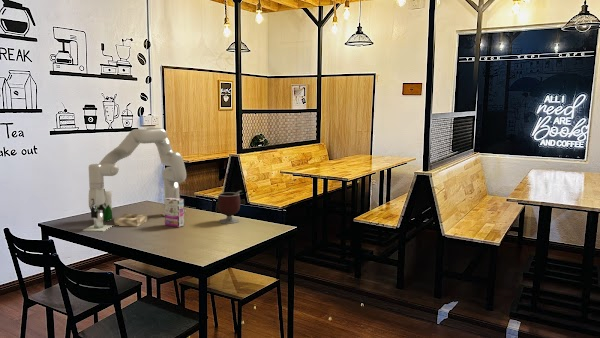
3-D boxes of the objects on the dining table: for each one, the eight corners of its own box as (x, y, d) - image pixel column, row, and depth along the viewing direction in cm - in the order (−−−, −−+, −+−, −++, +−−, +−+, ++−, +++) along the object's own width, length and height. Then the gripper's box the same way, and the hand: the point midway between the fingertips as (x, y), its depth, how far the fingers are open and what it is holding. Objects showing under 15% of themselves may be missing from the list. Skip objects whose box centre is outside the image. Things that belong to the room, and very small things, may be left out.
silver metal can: (105, 226, 262) (104, 209, 261) (100, 228, 257) (100, 211, 256) (96, 226, 262) (96, 209, 261) (92, 228, 257) (91, 211, 256)
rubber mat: (113, 226, 265) (113, 225, 265) (103, 231, 253) (103, 230, 253) (94, 225, 266) (94, 224, 266) (82, 230, 254) (82, 229, 254)
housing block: (147, 220, 279) (147, 214, 278) (137, 226, 265) (137, 219, 264) (125, 220, 280) (125, 214, 279) (114, 225, 266) (114, 219, 265)
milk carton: (93, 221, 276) (92, 189, 273) (101, 218, 285) (100, 187, 282) (107, 222, 275) (106, 189, 273) (114, 218, 284) (113, 187, 282)
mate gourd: (213, 222, 275) (213, 190, 273) (224, 218, 288) (224, 187, 286) (236, 225, 270) (236, 192, 268) (246, 220, 283) (246, 188, 281)
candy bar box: (184, 226, 267) (184, 198, 265) (178, 227, 262) (178, 200, 261) (170, 223, 272) (170, 197, 270) (164, 225, 268) (163, 198, 266)
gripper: (98, 183, 265) (99, 212, 268) (81, 188, 248) (83, 219, 250) (110, 183, 265) (111, 213, 267) (94, 188, 248) (96, 219, 250)
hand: (98, 215), depth 259 cm, fingers open, 7 cm apart
